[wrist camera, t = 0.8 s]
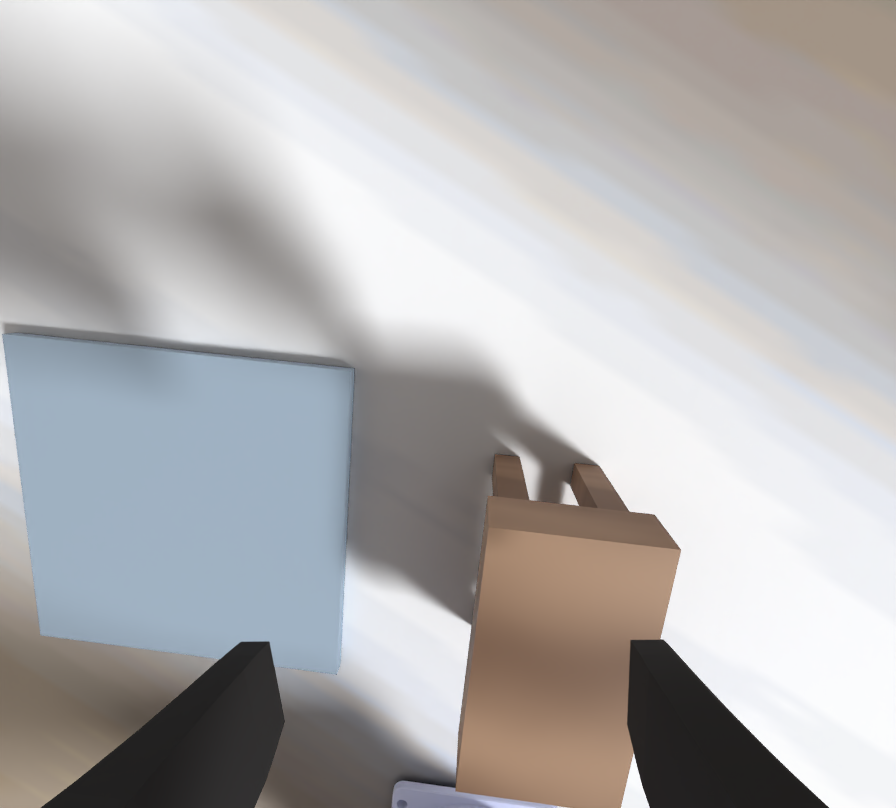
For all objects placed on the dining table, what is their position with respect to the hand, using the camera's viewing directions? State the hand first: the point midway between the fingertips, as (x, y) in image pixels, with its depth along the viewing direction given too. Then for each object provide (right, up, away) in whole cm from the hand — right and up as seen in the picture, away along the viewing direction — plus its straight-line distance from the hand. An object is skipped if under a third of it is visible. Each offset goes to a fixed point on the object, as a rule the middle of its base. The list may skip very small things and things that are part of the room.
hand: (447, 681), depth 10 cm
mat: (-11, +1, +12) cm, 16 cm away
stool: (+4, -1, +11) cm, 12 cm away
